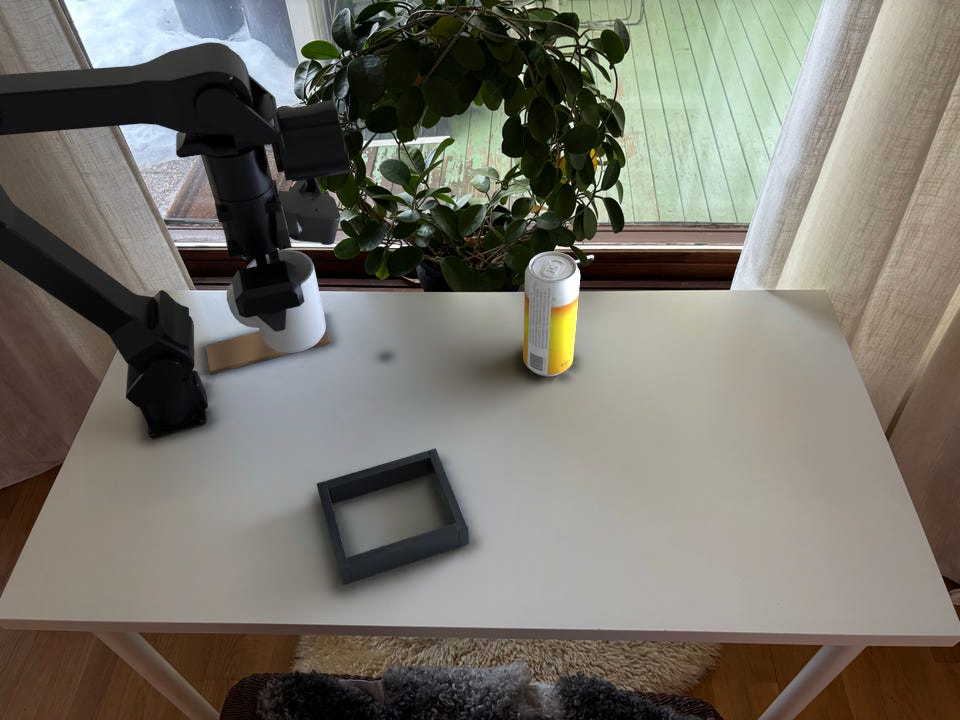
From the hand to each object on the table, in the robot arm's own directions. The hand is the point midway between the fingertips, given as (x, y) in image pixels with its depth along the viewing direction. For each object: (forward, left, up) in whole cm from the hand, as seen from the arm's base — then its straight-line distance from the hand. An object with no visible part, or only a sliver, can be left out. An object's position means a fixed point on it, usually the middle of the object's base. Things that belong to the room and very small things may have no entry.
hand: (275, 308), depth 86 cm
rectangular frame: (+6, -22, -13) cm, 26 cm away
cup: (0, 0, -4) cm, 4 cm away
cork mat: (-2, +9, -13) cm, 16 cm away
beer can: (+30, -7, -13) cm, 33 cm away
